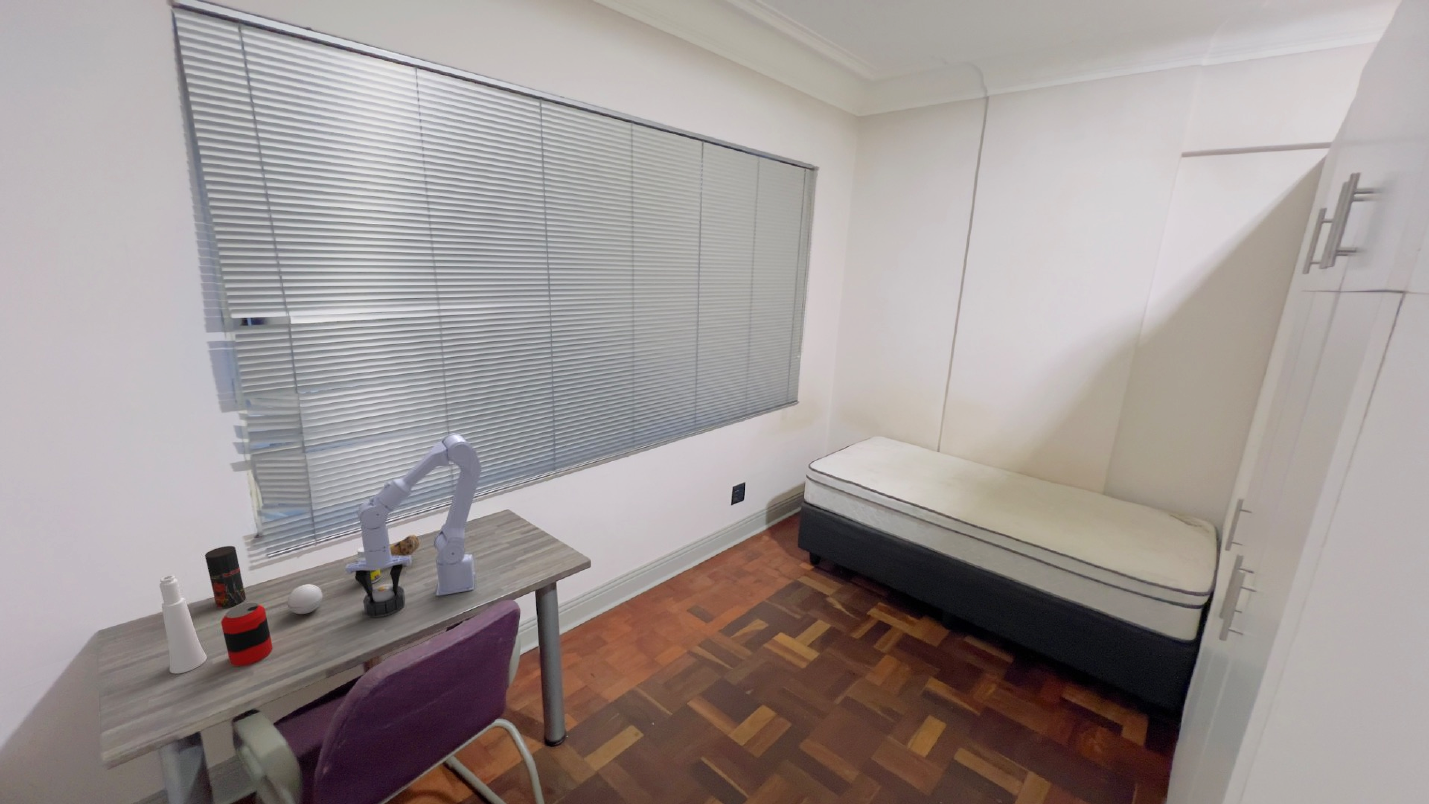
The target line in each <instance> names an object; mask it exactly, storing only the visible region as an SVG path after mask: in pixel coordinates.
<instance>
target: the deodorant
mask: <svg viewBox="0 0 1429 804" xmlns="http://www.w3.org/2000/svg"><path fill="white" fill-rule="evenodd" d="M236 549H237V548H236V547H235V546H233V545H226V546H221V547H215V548H213V549H211V550H209V551H207V552H206V553H205V555H204V557H205V562H206V567H207V570H208V575H209V580H210V585H211V588H212V592H213V597H214V601H215V606H216V608H217V609H219V610H223V609H231V608H234V607H236V606H239V605H241V604H242V603H243V602H244V601H245V600H246V599H247V596H246V592H245V588H244V582H243V578H242V574H241V573H242V572H241V568H240V564H239V559H238V554H237V550H236Z"/></svg>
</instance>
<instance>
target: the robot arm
mask: <svg viewBox="0 0 1429 804" xmlns="http://www.w3.org/2000/svg"><path fill="white" fill-rule="evenodd" d="M450 462H451V463H453V464H455V465H456V466H458V468H459V469H460V471H459V475H458V479H457V483H456V486H455V489H454V493H453V496H452V499H451V503H450V506H449V509H448V513H447V516H446V520H445V523H444V524H443V525H441V528H440V530H439V532H438V533H437V535H436V536H435V537H434V540H433V546H434V548H435V549H436V551H437V556H436V559H435V563H436V571H437V580H438V585H437V588H436V593H435V596H437V597H439V596H445V595H451V594H457V593H461V592H469V591H473V590H474V588H475V582H476V581H475V580H476V572H475V565H474V564H475V563H474V556H473V554H467V553H466V549H465V548H466V547H465V541H466V531H465V529H466V528H465V527H466V524H467V521H468V517H469V514H470V511H471V507H472V504H473V501H474V496H475V493H476V490H477V486H478V483H479V480H480V476H481V473H482V465H481V462H480V460H479V456H478V454H477V450H476V449H475V448H474V447H473V446H472V444H470V443H469V442H468V441H467V440H466V439H465V438H464V437H463V436H462V435H461V434H458V433H449V434H447V435H445V436H444V437H443V438H442V440H439V441H438V442H437V443H435V445H434V446H433V447H432V448H431V449H430V451H428V452H427V453H426V455H424V456H423V457H422V458H421V459H420V460H419V461H418V462H417V463H416V464H415V465H414V466H413V467H412V468H411V469H410V470H408V472H407V473H406V474H404V476H402V477H401V478H394V479H392V480H391V481H387V482H385V483H384V488H382V489H381V490H380V491H379V492H378V493H376V494H375V495H374V496H371V497H369V499H368V501H365V502H363V503H362V504H360V506H359V507H358V510H357V512H356V514H357V517H358V519H359V523H360V524H361V525H360V529H361V540H362V546H363V548H364V554H365V560H364V561H360V562H356V563H355V562H353V563H348V564H346V566H345V573H346V575H351V574H353V573H355V576H354V579H355V581H357V582H358V583H359V585H361V587H362V588H363V589H364V591H365V592H366V595H368V597H371V596H372V590H373V589H374V588H373V587H374V586H373V583H372V582H371V570H379V569H380V570H384V569H386V568H391V569H390V572H389V575H390V577H391V581H392V585H393V592H394V593H396V592H397V591H398V586H399V581H400V576H401V573H402V570H403V565H406V567H408V566H411V564H412V562H413V561H412V554H411V555H408V556H391V550H390V545H391V544H390V538H389V536H390V535H389V529H388V526H387V523H386V522H387V520H388V515H389V514H390V513H392V512H393V511H394V510H395V509H396V508H398V506H400V505H401V504H402V503H403V502H404V501H405V500H406V499H408V498H409V497H410V496H411V495H412V488H413V487H414V486H415V485H417V483H419V482H420V481H422V479H424V478H425V477H426V476H427V475H428V474H430V473H431V472H432V471H433V470H434V469H436V468H437V467H447V466H451V464H450ZM465 553H466V554H465Z"/></svg>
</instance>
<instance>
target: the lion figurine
mask: <svg viewBox="0 0 1429 804" xmlns="http://www.w3.org/2000/svg"><path fill="white" fill-rule="evenodd" d="M419 546H420V539H419V536H416V535H414V534H410V535H408V536H406V537H405V538H404V539H403V540H401V541H397V543H395V544H390V550H391V556H409V555H411V556H412V555H413V553H414V552H415V551H416V550H418V548H419ZM403 567H404V568H406V567H407V566H406V565H403Z"/></svg>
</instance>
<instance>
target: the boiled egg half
mask: <svg viewBox="0 0 1429 804" xmlns="http://www.w3.org/2000/svg"><path fill="white" fill-rule="evenodd" d="M372 596H373V600H374V602H377V603H378V602H384V601H387V600H390V599H392V598H393V597H395V594H394V592H393V583H392V584H391V583H383V584H380V585H378V586H376V587H374V588H373V590H372Z"/></svg>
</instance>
